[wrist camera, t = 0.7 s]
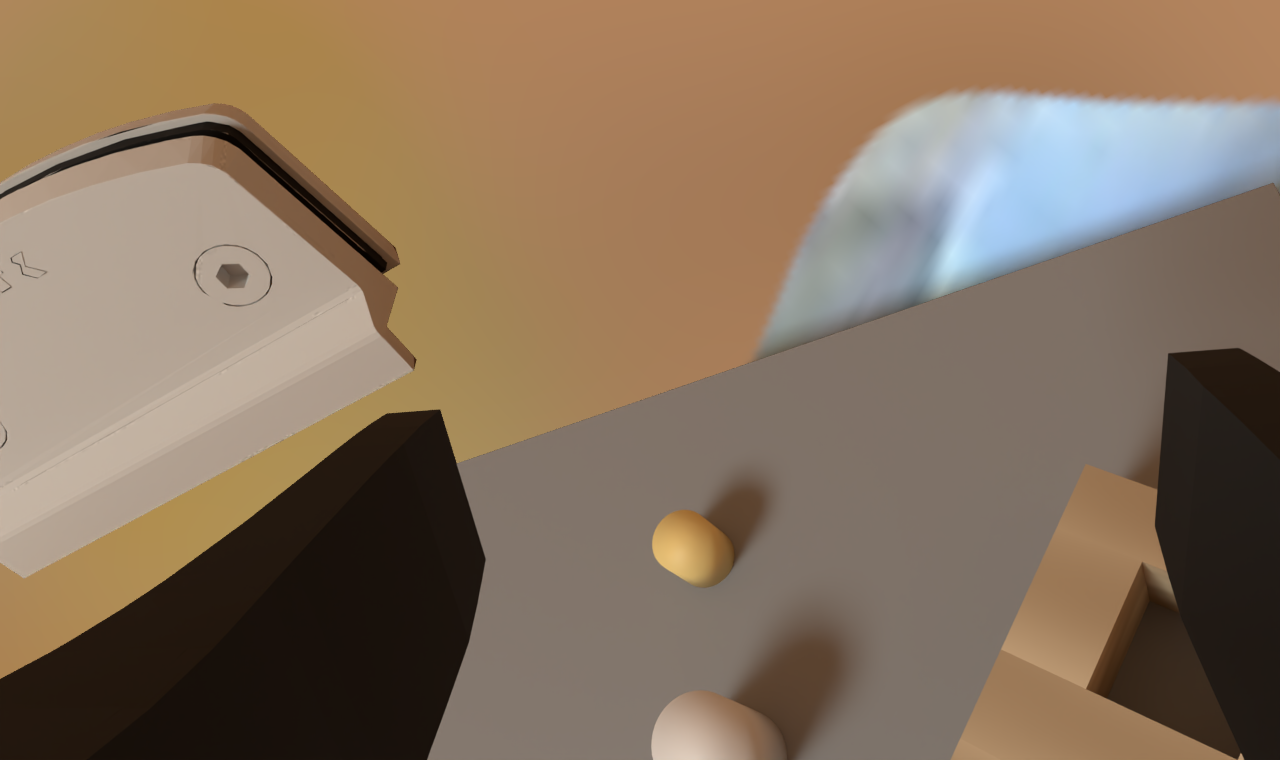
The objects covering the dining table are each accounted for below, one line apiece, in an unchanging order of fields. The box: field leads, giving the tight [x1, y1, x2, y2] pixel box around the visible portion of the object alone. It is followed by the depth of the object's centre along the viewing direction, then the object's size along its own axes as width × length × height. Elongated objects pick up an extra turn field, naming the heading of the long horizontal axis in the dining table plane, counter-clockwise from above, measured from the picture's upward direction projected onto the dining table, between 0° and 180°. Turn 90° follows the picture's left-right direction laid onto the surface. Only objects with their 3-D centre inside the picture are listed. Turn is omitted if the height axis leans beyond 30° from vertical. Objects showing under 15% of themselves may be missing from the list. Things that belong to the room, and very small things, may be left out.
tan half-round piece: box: [0, 104, 417, 578], centre depth 35 cm, size 17×5×10 cm, turn 108°
